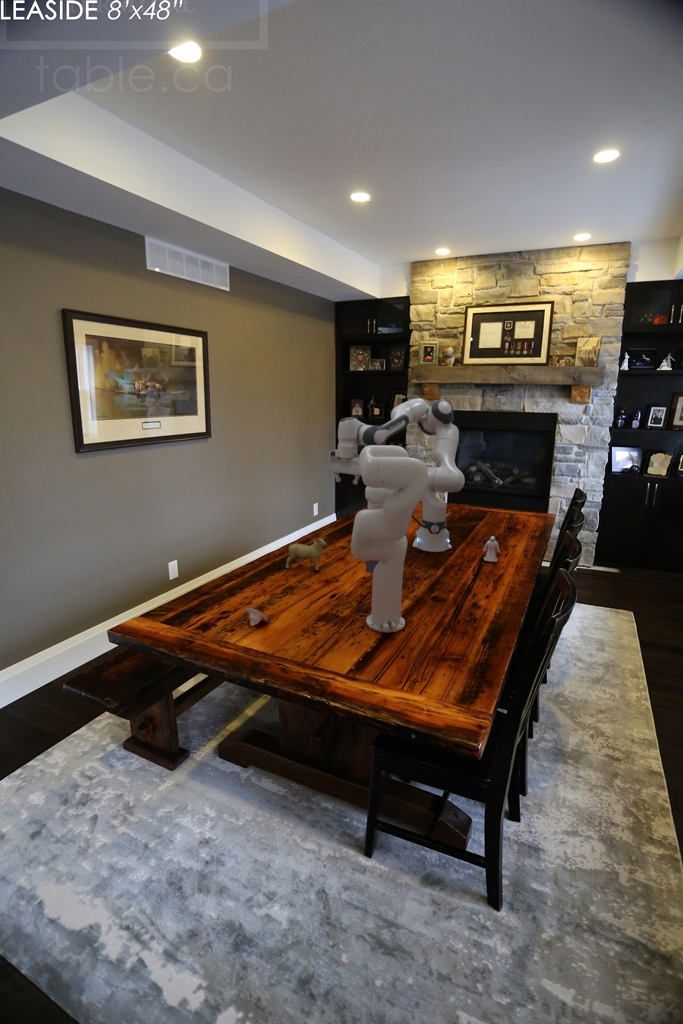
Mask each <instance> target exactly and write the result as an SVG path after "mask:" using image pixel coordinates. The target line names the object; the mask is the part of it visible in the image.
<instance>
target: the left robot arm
mask: <svg viewBox="0 0 683 1024" xmlns="http://www.w3.org/2000/svg"><path fill="white" fill-rule="evenodd" d="M359 455H360V456H359V469H360V472H361V475H362V476H361V475H360V476H361V479H362V482H363V484H364V485H365V486H366V487H365V489H364V490H365V491H364V495H365V497H364V498H365V499H366V501H367V508H366V509H365V508H364V509H361V510H359V511H358V512H357V513H356V514H355V517H354V522H353V526H352V533H351V534H352V535H351V541H350V552H351V555H352V558H354V559H355V560H357V561H363V562H364V561H365V562H366V561H380V562H379V563H378V564H377V566H376V567H375V569H374V571H373V574H372V585H371V586H372V587H371V607H370V609H371V613H370V615H368V616H367V617H366V621H365V622H366V623H365V624H366V625H367V627H368V628H369V629H372V630H373V631H376V632H379V633H396V632H398V631H402V630H403V629H404V628H405V626H406V620H405V618H403V617H402V615H401V614H402V599H403V598H402V597H403V580H404V578H403V577H404V566H405V559H406V554H407V551H408V538H407V536H406V535H407V533H408V531H409V527H410V523H411V519H412V518H413V517H412V513H413V514H414V511H415V510H416V508H417V506H418V505H419V503H420V502H421V501H422V497H423V495H424V492H425V489H426V485H427V479H428V471H427V467H428V466H427V465H426V463H425V462H424V461H423V460H421V459H419V458H416V457H410V455H409V452H408V451H407V450H406V449H405V448H404V447H403V446H399V445H394V444H393V445H390V444H389V445H388V444H387V445H386V444H385V445H384V444H383V445H369V446H364V447H363V448H362V449H361V451H360V453H359Z"/></svg>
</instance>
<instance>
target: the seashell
mask: <svg viewBox="0 0 683 1024" xmlns="http://www.w3.org/2000/svg"><path fill="white" fill-rule="evenodd" d="M245 611H246V614H248V615H249V616H248V619H249V625H250V626H251V627H253V626H256V625H258V624H259V623H260V622H261V621H265V622H269V618H268V616H267V615H266V614H264V613H263V612H261V611H260V610H259V609H256V608H253V607H245Z"/></svg>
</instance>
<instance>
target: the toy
mask: <svg viewBox="0 0 683 1024" xmlns="http://www.w3.org/2000/svg"><path fill="white" fill-rule="evenodd" d="M325 540H327V536H323V537H321V538H315V540H314V542H313V544H311V545H306V544H302V543H292V544H290V545H289V546H288V553H289V557H288V556H287V558H286V564H285V569H286V570H290V562H292V561H295V562H296V563H297V564H298V566H300V567H302V566H303V564H302V563H303V562H302V561H300V560H310V563H309V567H310V568H314V567H315V571H316V572H320V571H321V570H320V568H319V567H318V560H319V559H320V558H321V557H322V555H323V553H322V552H323V547H327V546H328V544H327V542H326V541H325ZM299 559H300V560H299Z"/></svg>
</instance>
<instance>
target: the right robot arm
mask: <svg viewBox="0 0 683 1024" xmlns="http://www.w3.org/2000/svg"><path fill="white" fill-rule="evenodd" d="M454 420H455V417H454V407H453V405H452V404H451V402H449V400H447V399H443V398H442V399H438V400H436V401H435V402H433V403H432V405H431V406H429V405H428V404H427V402H426V401H425V400H424V399H423V398H420V397H419V398H412V399H410V400H407V401H405V402H402V403H400V404H398V405H396V406H395V407H394V408H392V410H391V412H390V420H389V421H387V422H386V423H384V424H382V425H371V424H366V423H364V422H361V420H359V419H357V418H356V417H354V416H350V417H349V416H348V417H345V418H342V419H340V421H339V422H338V429H337V439H338V444H337V449H334V450H330V451H328V456H329V457H327V466H326V467H327V471H328V472H332V473H333V475H334V478H335V482H337V483H340V482H341V480H342V478H341V477H340V475H339V474H347V475H354V477H355V478H354V479H353V480H352V484H353V485H358V482H359V480H360V477H362V475H361V472H360V469H359V456H360V454H358V445H359V446H360V445H361V446H362V447H363V446H364V447H366V446H369V445H384V444H385V443H386V442H387V441H388V440H389V439H390V438H392V437H393V436H395V435H397V434H398V433H400V432H402V431H403V430H404V429H406V428H407V427H409V426H412V425H414V424H415V423H416V424H417V426H418V427H419V429H420V430H421V431H422V432H423V433H424V434H425V435H427V436H432V435H435V438H434V443H433V445H432V450H431V453H430V457H431V460H432V461H433V462H434V463H435V464H436V465H438V466H439V467H435V466H433V467H432V466H426V467H427V471H428V479H427V485H426V489H425V492H424V495H423V497H422V499H421V504H422V517H421V520H419V519H418V518H416V516H415V515H414V512H413V513H412V517H411V518H413V519H414V520H415V521H416V522H418V523H419V525H420V527H419V529H418V530H416V531H415V536H416V537H415V538H414V541H413V543H412V545H411V547H412V548H415V549H419V550H421V551H426V552H430V553H433V552H434V553H438V552H439V553H440V552H446V551H447V550H451V549H453V546H452V545H451V544H450V532H449V531H448V529H447V524H448V522H447V509H448V507H447V503H446V501H444V499H442V498H440V497H439V496H438V494H437V493H436V492H441V493H457V492H461V490H462V489H463V488H464V486H465V482H466V481H465V480H466V479H465V475H464V474H463V472H462V471H461V470H460V469H459V468H458V467H457V465H456V461H455V460H456V453H457V449H458V446H459V440H460V438H459V437H460V433H459V432H460V431H459V428H458V427H457V426H456V425H455V424H453V423H454Z"/></svg>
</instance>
